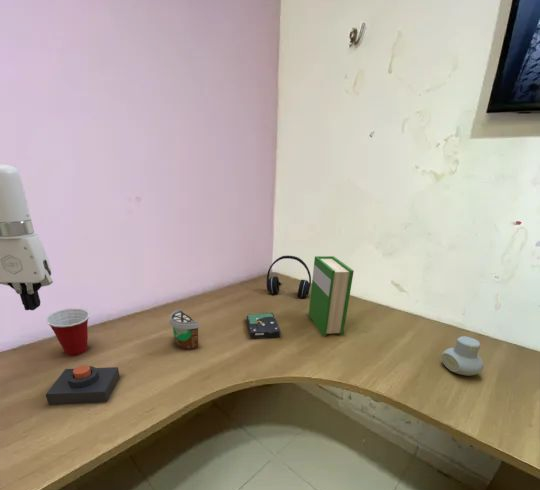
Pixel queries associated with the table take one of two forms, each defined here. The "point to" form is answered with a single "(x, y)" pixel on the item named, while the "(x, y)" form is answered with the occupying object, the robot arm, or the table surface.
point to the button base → (83, 387)
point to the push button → (82, 372)
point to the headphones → (274, 281)
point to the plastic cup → (70, 329)
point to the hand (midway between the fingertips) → (33, 307)
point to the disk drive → (263, 325)
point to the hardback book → (330, 294)
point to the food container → (184, 330)
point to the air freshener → (463, 357)
